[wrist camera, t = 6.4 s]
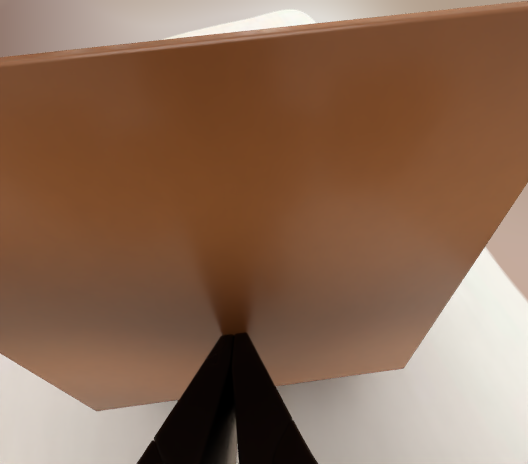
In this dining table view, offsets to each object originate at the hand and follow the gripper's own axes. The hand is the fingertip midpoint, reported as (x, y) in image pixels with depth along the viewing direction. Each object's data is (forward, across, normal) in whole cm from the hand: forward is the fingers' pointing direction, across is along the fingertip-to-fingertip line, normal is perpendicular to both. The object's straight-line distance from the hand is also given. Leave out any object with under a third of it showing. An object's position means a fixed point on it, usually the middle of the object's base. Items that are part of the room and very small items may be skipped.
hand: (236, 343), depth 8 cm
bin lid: (0, 0, -2) cm, 2 cm away
